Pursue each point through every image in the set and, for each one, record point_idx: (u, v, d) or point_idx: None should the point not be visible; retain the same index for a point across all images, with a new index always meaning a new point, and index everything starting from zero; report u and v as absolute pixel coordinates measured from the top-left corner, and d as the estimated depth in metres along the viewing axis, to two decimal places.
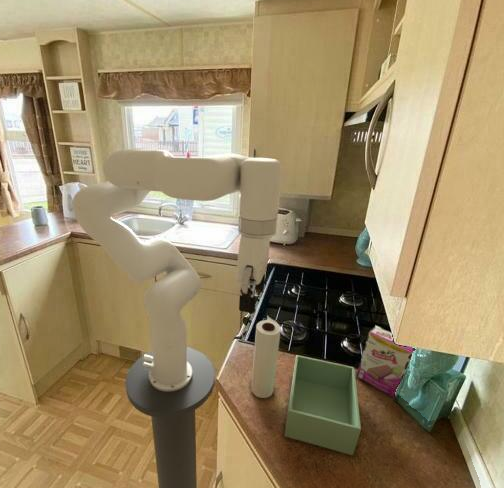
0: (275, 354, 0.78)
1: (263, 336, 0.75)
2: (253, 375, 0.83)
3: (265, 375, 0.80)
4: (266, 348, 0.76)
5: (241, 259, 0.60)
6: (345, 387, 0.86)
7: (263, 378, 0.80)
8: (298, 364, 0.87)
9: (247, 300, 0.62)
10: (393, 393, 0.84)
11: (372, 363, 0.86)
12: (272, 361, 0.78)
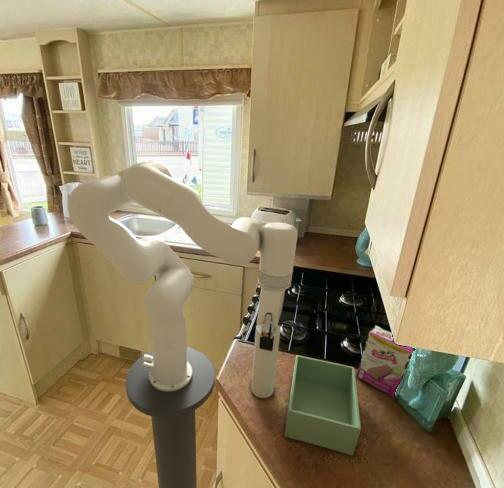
0: (275, 355, 0.78)
1: None
2: (253, 375, 0.83)
3: (265, 375, 0.80)
4: None
5: (262, 307, 0.70)
6: (345, 387, 0.86)
7: (263, 378, 0.80)
8: (298, 364, 0.87)
9: (267, 341, 0.73)
10: (393, 393, 0.84)
11: (372, 363, 0.86)
12: (272, 361, 0.78)
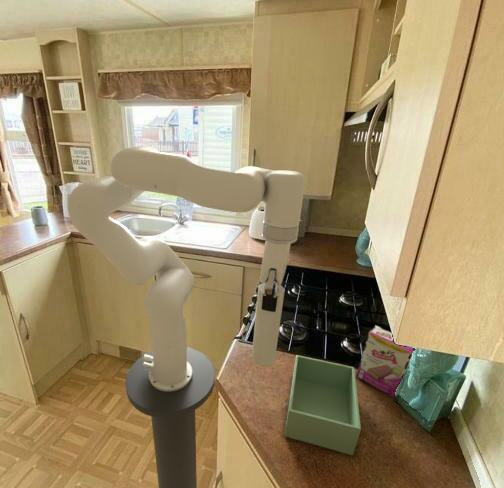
0: (278, 318, 0.73)
1: None
2: (254, 341, 0.78)
3: (267, 341, 0.75)
4: (269, 311, 0.71)
5: (265, 262, 0.65)
6: (345, 387, 0.86)
7: (265, 344, 0.76)
8: (298, 364, 0.87)
9: (270, 300, 0.68)
10: (393, 393, 0.84)
11: (372, 363, 0.86)
12: (275, 325, 0.73)
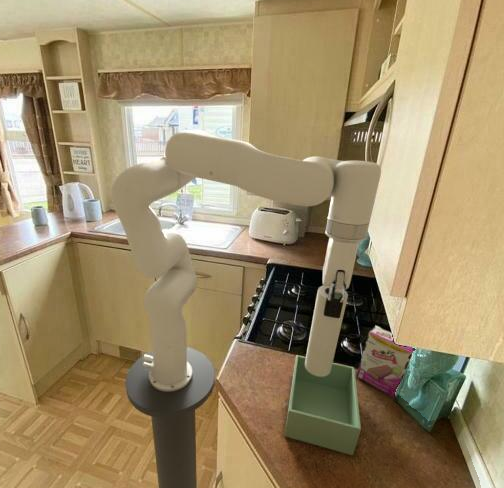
0: (340, 324, 0.66)
1: None
2: (310, 350, 0.71)
3: (326, 349, 0.68)
4: None
5: (332, 263, 0.59)
6: (345, 387, 0.86)
7: (323, 353, 0.69)
8: (298, 364, 0.87)
9: (335, 305, 0.62)
10: (393, 393, 0.84)
11: (372, 363, 0.86)
12: (336, 332, 0.67)
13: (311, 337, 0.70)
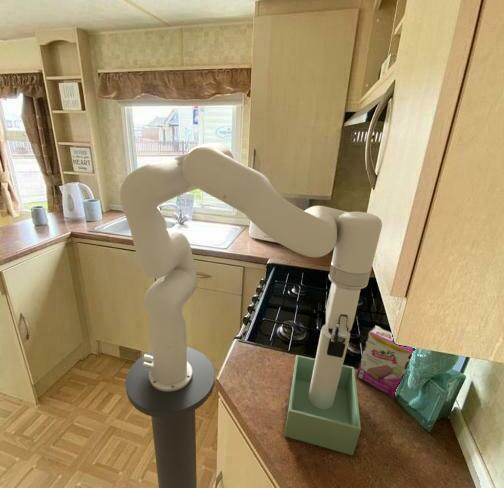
0: (342, 361, 0.69)
1: None
2: (313, 384, 0.74)
3: (329, 384, 0.71)
4: None
5: (336, 308, 0.62)
6: (345, 387, 0.86)
7: (326, 388, 0.72)
8: (298, 364, 0.87)
9: (338, 346, 0.65)
10: (393, 393, 0.84)
11: (372, 363, 0.86)
12: (339, 369, 0.70)
13: (315, 372, 0.73)
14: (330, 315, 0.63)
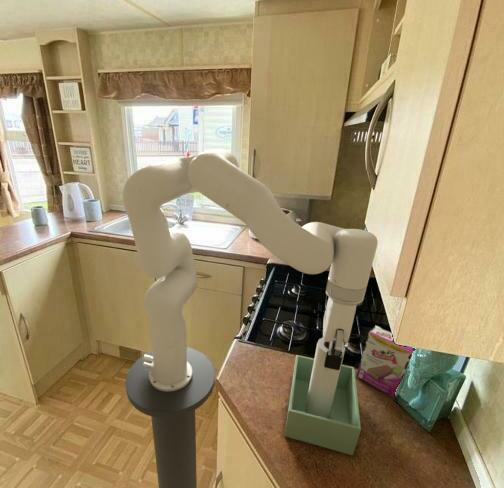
0: (338, 375, 0.71)
1: None
2: (310, 396, 0.76)
3: (325, 397, 0.73)
4: (329, 369, 0.70)
5: (332, 323, 0.63)
6: (345, 387, 0.86)
7: (323, 400, 0.74)
8: (298, 364, 0.87)
9: (335, 359, 0.66)
10: (393, 393, 0.84)
11: (372, 363, 0.86)
12: (335, 382, 0.72)
13: (311, 385, 0.75)
14: (327, 329, 0.64)
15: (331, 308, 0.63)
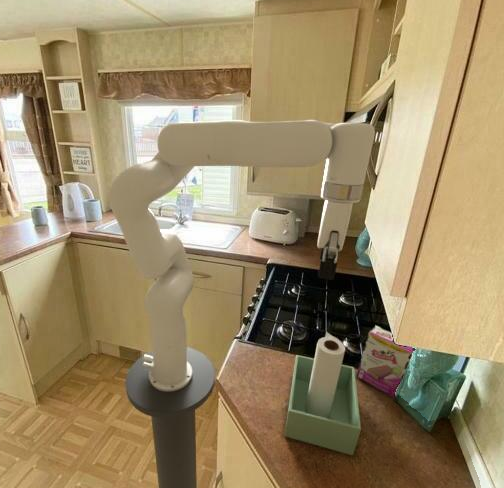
0: (338, 375, 0.71)
1: (327, 356, 0.69)
2: (310, 396, 0.76)
3: (325, 397, 0.73)
4: (329, 369, 0.70)
5: (326, 224, 0.60)
6: (345, 387, 0.86)
7: (323, 400, 0.74)
8: (298, 364, 0.87)
9: (329, 266, 0.63)
10: (393, 393, 0.84)
11: (372, 363, 0.86)
12: (335, 382, 0.72)
13: (311, 385, 0.75)
14: (321, 233, 0.61)
15: (325, 209, 0.60)
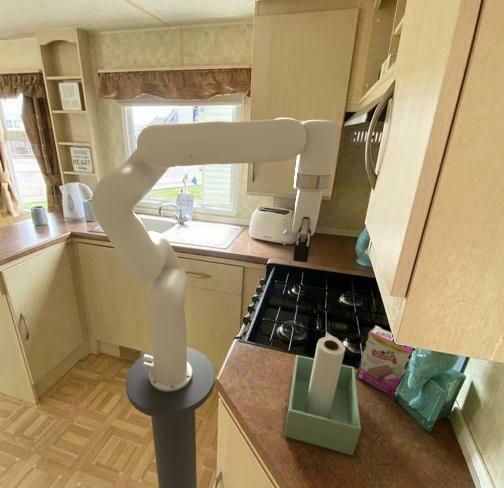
0: (338, 375, 0.71)
1: (327, 356, 0.69)
2: (310, 396, 0.76)
3: (325, 397, 0.73)
4: (329, 369, 0.70)
5: (299, 211, 0.67)
6: (345, 387, 0.86)
7: (323, 400, 0.74)
8: (298, 364, 0.87)
9: (302, 249, 0.69)
10: (393, 393, 0.84)
11: (372, 363, 0.86)
12: (335, 382, 0.72)
13: (311, 385, 0.75)
14: (294, 219, 0.68)
15: (297, 197, 0.67)
